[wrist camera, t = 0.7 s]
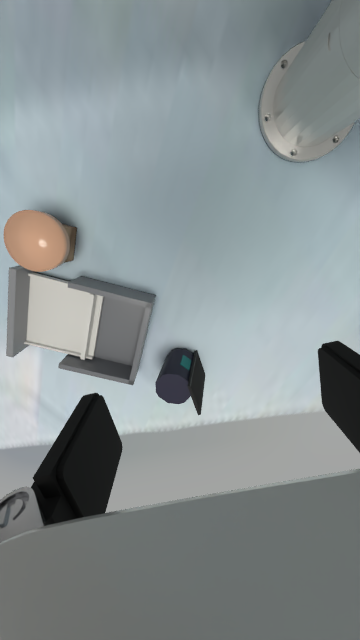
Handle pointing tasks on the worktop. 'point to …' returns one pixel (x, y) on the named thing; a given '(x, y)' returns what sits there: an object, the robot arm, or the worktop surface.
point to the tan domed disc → (36, 240)
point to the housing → (115, 332)
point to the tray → (50, 315)
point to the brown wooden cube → (71, 241)
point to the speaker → (181, 378)
